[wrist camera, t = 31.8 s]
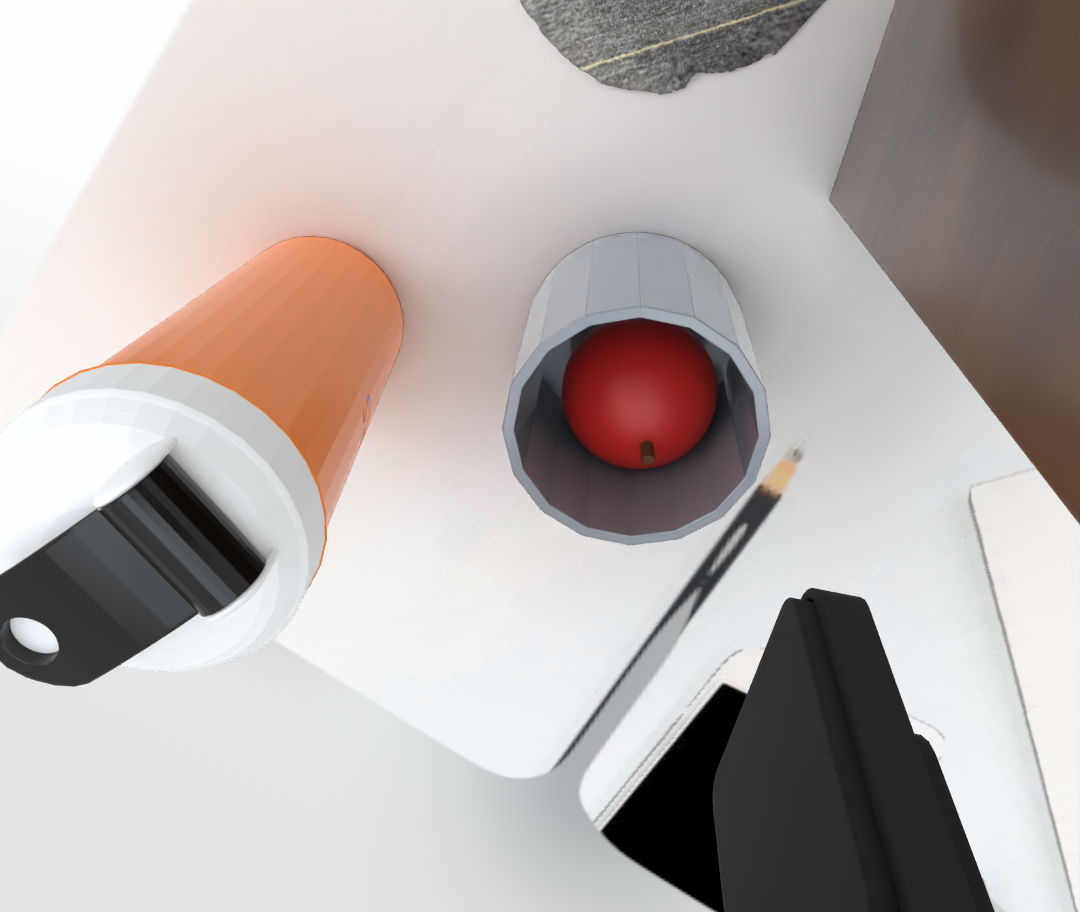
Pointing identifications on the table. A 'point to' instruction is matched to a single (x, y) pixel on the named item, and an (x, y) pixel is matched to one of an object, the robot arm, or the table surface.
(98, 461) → the shaker bottle
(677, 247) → the steel cup
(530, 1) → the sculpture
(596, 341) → the apple
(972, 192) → the crate
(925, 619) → the table surface
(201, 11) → the table surface
